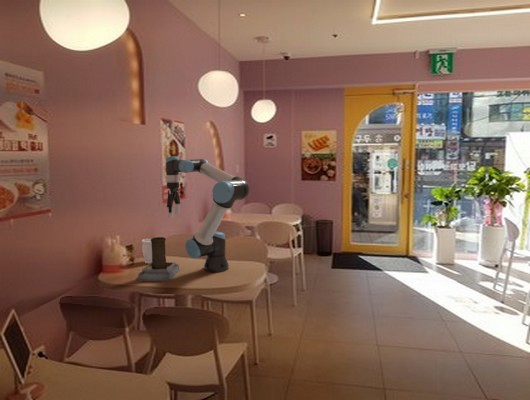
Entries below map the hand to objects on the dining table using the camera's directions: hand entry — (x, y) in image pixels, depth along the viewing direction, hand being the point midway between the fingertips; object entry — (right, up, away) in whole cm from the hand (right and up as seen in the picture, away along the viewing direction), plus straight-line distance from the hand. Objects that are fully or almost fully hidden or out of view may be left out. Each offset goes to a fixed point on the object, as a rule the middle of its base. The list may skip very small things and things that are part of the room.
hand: (174, 216), depth 253 cm
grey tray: (-6, -35, -12) cm, 37 cm away
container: (-6, -31, -13) cm, 34 cm away
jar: (-19, -31, +17) cm, 40 cm away
